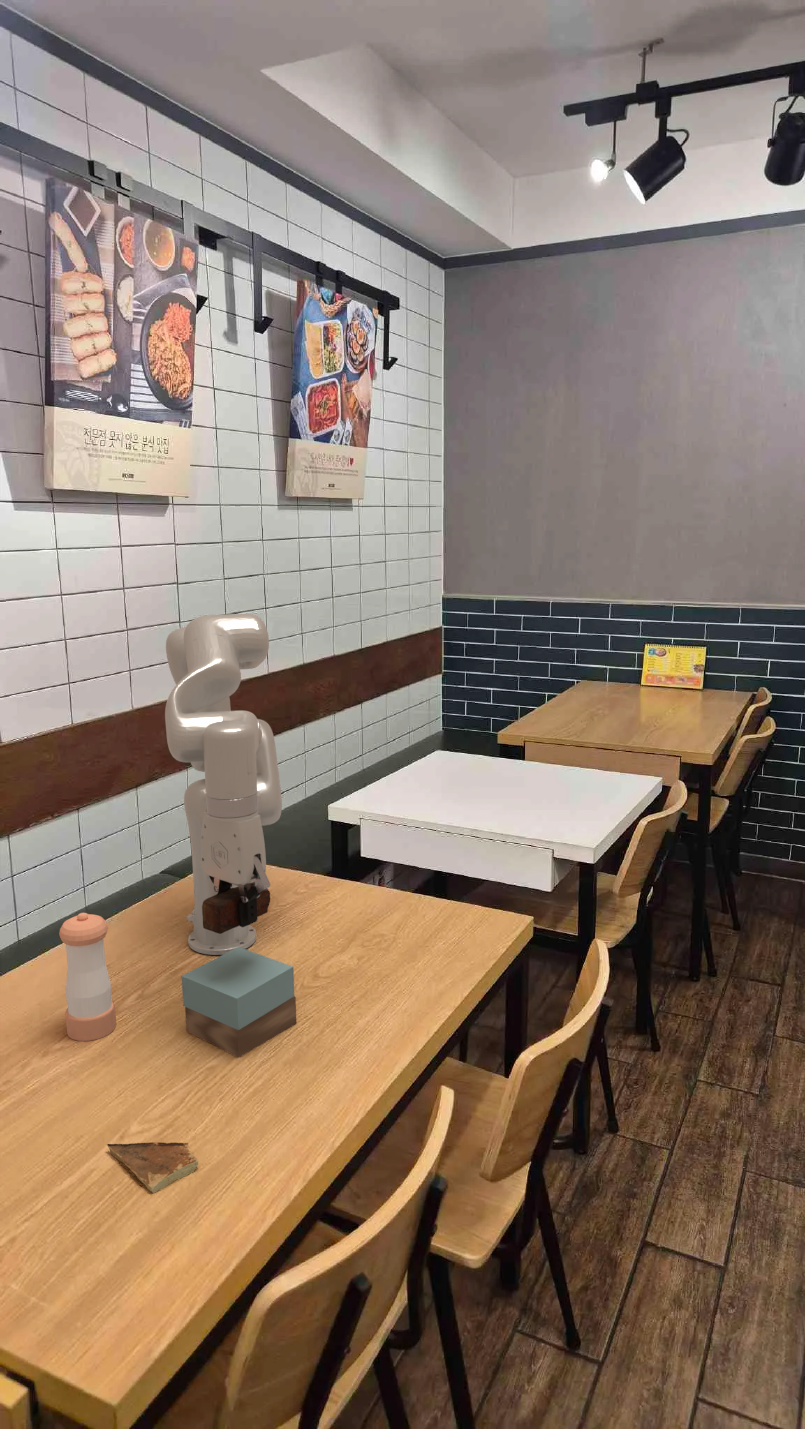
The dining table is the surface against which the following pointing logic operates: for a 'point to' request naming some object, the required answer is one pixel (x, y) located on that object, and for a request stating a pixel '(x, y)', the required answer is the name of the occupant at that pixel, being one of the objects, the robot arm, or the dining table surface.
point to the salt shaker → (87, 979)
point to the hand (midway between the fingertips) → (237, 918)
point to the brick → (228, 909)
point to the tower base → (242, 1029)
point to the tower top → (238, 987)
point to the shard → (156, 1161)
